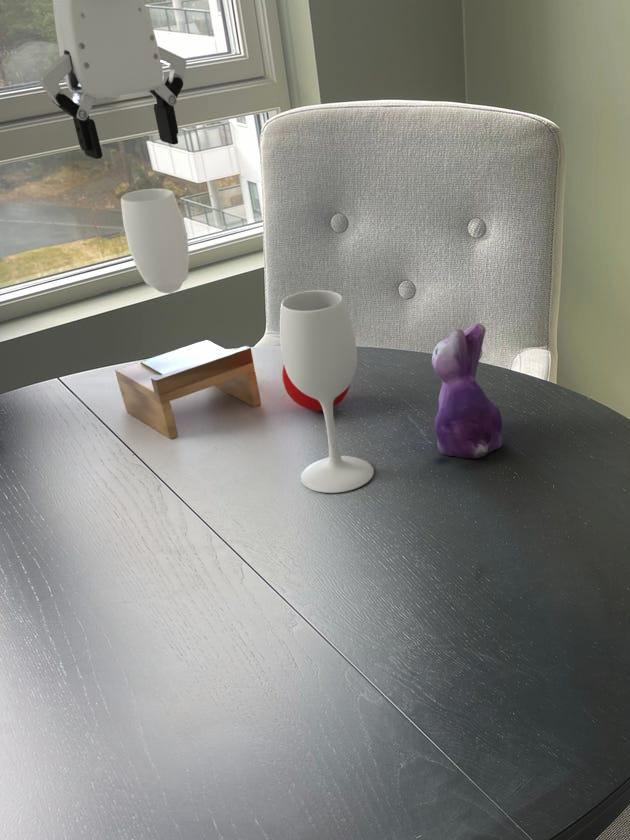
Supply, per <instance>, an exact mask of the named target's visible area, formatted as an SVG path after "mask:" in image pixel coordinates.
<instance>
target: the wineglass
mask: <svg viewBox="0 0 630 840" xmlns="http://www.w3.org/2000/svg"><path fill="white" fill-rule="evenodd" d="M279 311H280V312H279V316H280V317H279V339H280V340H279V343H280V352H281V356H282V362H283V364H284V366H285V369H286V372H287V375H288V377H289V378H290V380H291V382H292V383H293V384H294V385H295V386H296V387H297V388H298V389H299V390H300V391H301V392H303V393H304V394H306V395H308V396H309V397H312V398H314V399H317V400H318V401H319V402H320V403H321V406H322V408H323V410H322V412H323V416H324V421H325V426H326V434H327V443H328V457H325V458H322V459H319V460H317V461H314V462H313V463H311V464H309V465H308V466H307V467H306V468H305V469H304V470H303V471H302V473H301V475H300V481H301V483H302V484H303V486H305V487H306V488H307V489H309V490H311V491H313V492H318V493H323V494H337V493H338V494H339V493H345V492H350V491H352V490H356V489H358V488H361V487H363V486H364V485H366V484H367V483H368V482H370V481H371V479H373V476H374V472H375V471H374V467H373V465H372V464H371V463H370V462H369V461H367V460H364V459H362V458H360V457H356V456H350V455H341V452H340V448H339V444H338V438H337V434H336V433H337V432H336V428H335V420H334V419H335V418H334V407H333V402H334V399H335V398H336V397H337V396H338V395H340V394H341V393H342V392H344V391H345V390H346V389H347V387H348V386H349V385H350V386H351V384H352V382H353V380H354V378H355V375H356V373H357V369H358V350H357V348H358V347H357V342H356V335H355V331H354V327H353V324H352V319H351V317H350V316H351V315H350V313H349V311H348V307H347V305H346V302H345V300H344V297H343V296H342V295H341V294H340V293H338V292H335V291H332V290H325V289H315V290H314V289H312V290H306V291H304V290H303V291H299V292H296V293H293V294H290V295H288V296H286V297H285V298H284V299H283V300H282V301H281V303H280V310H279Z"/></svg>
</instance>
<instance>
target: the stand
mask: <svg viewBox="0 0 630 840" xmlns="http://www.w3.org/2000/svg"><path fill="white" fill-rule="evenodd" d="M114 372H115V376H116V380H117V383H118V387H119V391H120V394H121V397H122V400H123V403H124V408H125V411H126V413H128V414H129V415H131V416H133V417H134V418H136V419H137V420H139V421H140V422H142V423H144V424H145V425H147V426H149V428H152V429H153V430H155V431H157V432H158V433H160V434H161V435H163V436H164V437H166V438H167V439H170V440H172V439H174V438H177V437H179V433H178V429H177V424H176V421H175V417H174V413H173V409H172V405H171V402H172V401H174V400H178V399H180V398H183V397H186V396H188V395H191V394H194V393H197V392H199V391H202V390H205V389H208V388H210V387H215V388H217V389H219V390H221V391H223V392H225V393H227V394H229V395H230V396H233V397H234V398H236V399H238V400H240V401H242V402H244V403H246V404H247V405H249V406H251V407H253V408H255V407H258V406H261V405H262V399H261V394H260V389H259V384H258V379H257V374H256V369H255V363H254V358H253V352H252V348H251V347H250V346H248V345H244V346H240V347H237V348H235V349H232V350H229V349H226V348H224V347H221V346H220V345H218V344H215V343H213V342H212V341H210V340H207V339H206V340H203V341H199V342H196V343H193V344H189V345H186V346H184V347H181V348H178V349H174V350H171V351H168V352H166V353H163V354H160V355H156V356H153V357H150V358H147V359H145V360H141V361H138V362H136V363H133V364H129V365H127V366H126V365H125V366H124V367H121V368H117V369H115V370H114Z"/></svg>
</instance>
